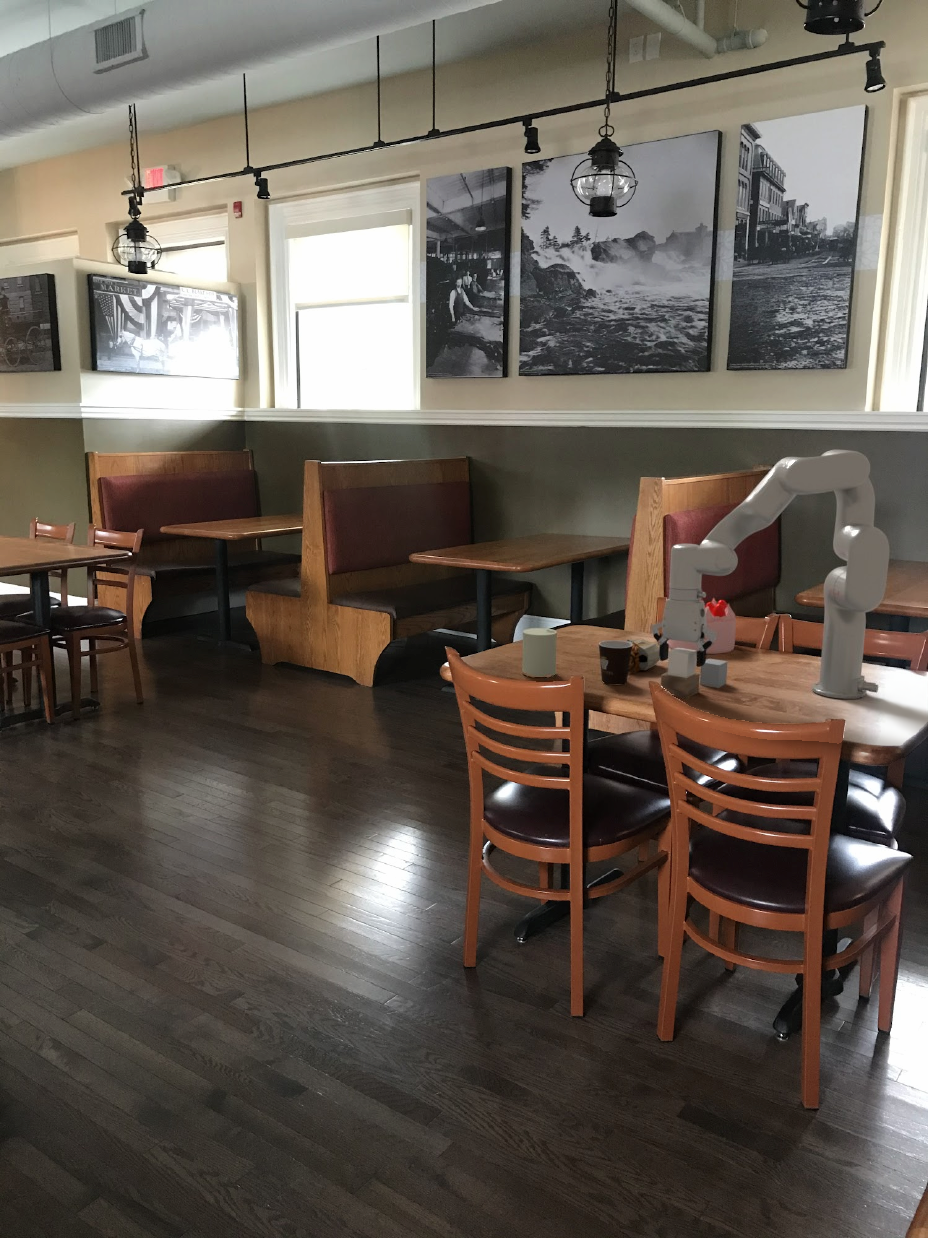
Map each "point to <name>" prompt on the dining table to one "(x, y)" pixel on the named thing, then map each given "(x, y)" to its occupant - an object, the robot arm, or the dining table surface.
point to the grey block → (713, 673)
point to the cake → (715, 629)
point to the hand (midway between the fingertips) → (682, 662)
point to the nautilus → (643, 654)
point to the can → (539, 651)
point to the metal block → (681, 685)
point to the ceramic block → (682, 662)
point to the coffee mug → (615, 661)
